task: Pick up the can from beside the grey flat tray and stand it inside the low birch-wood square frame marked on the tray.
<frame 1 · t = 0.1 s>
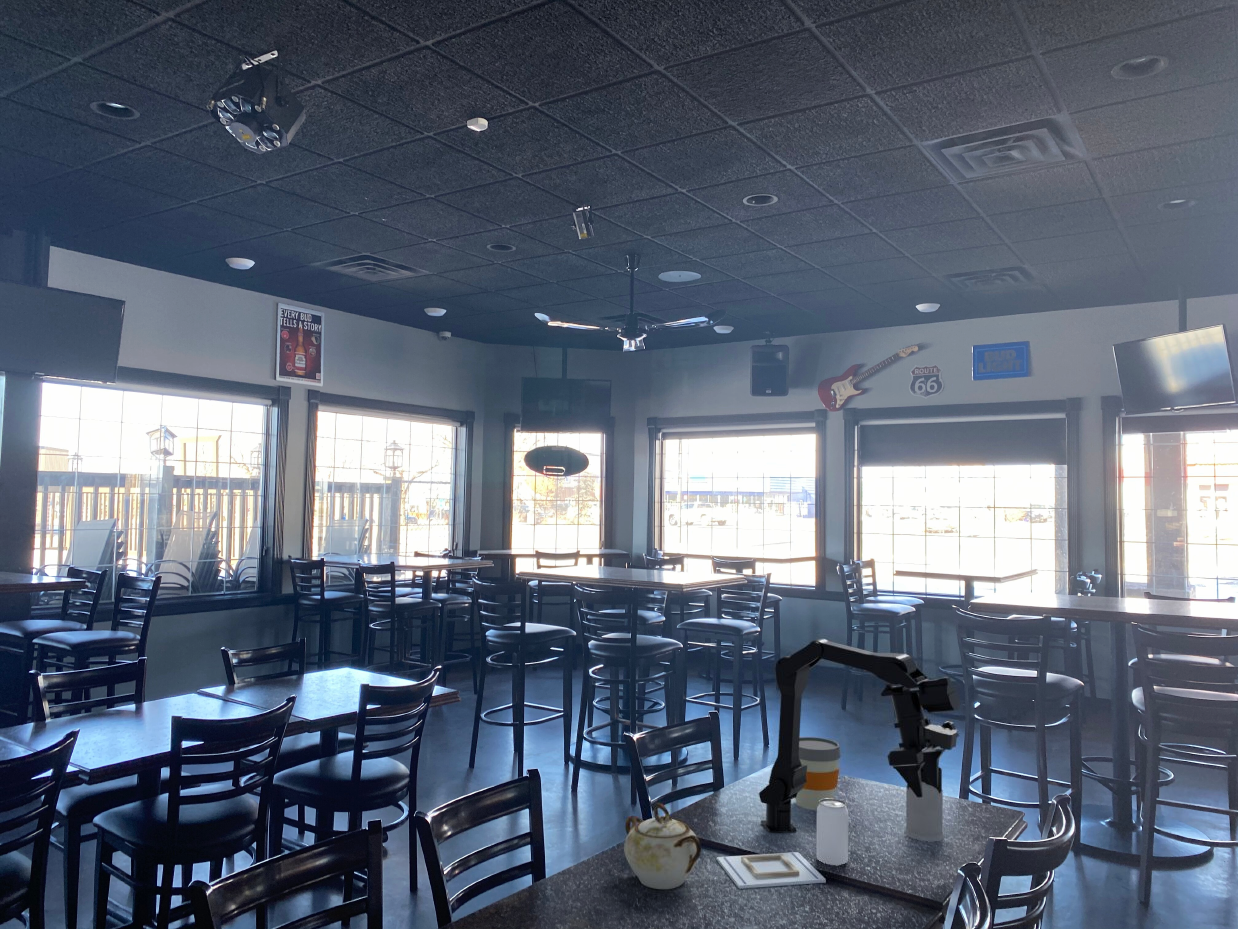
hand: (927, 791, 187), 15 cm above the table, tool pointing down, fingers open, 9 cm apart
sugar bowl: (661, 882, 177), on the table
grey flat tray: (769, 871, 183), on the table
can: (832, 861, 189), on the table
glass holder: (924, 831, 207), on the table
seat frame: (769, 866, 183), on the grey flat tray, point 1 cm above the table
reusable coffee cup: (814, 805, 224), on the table
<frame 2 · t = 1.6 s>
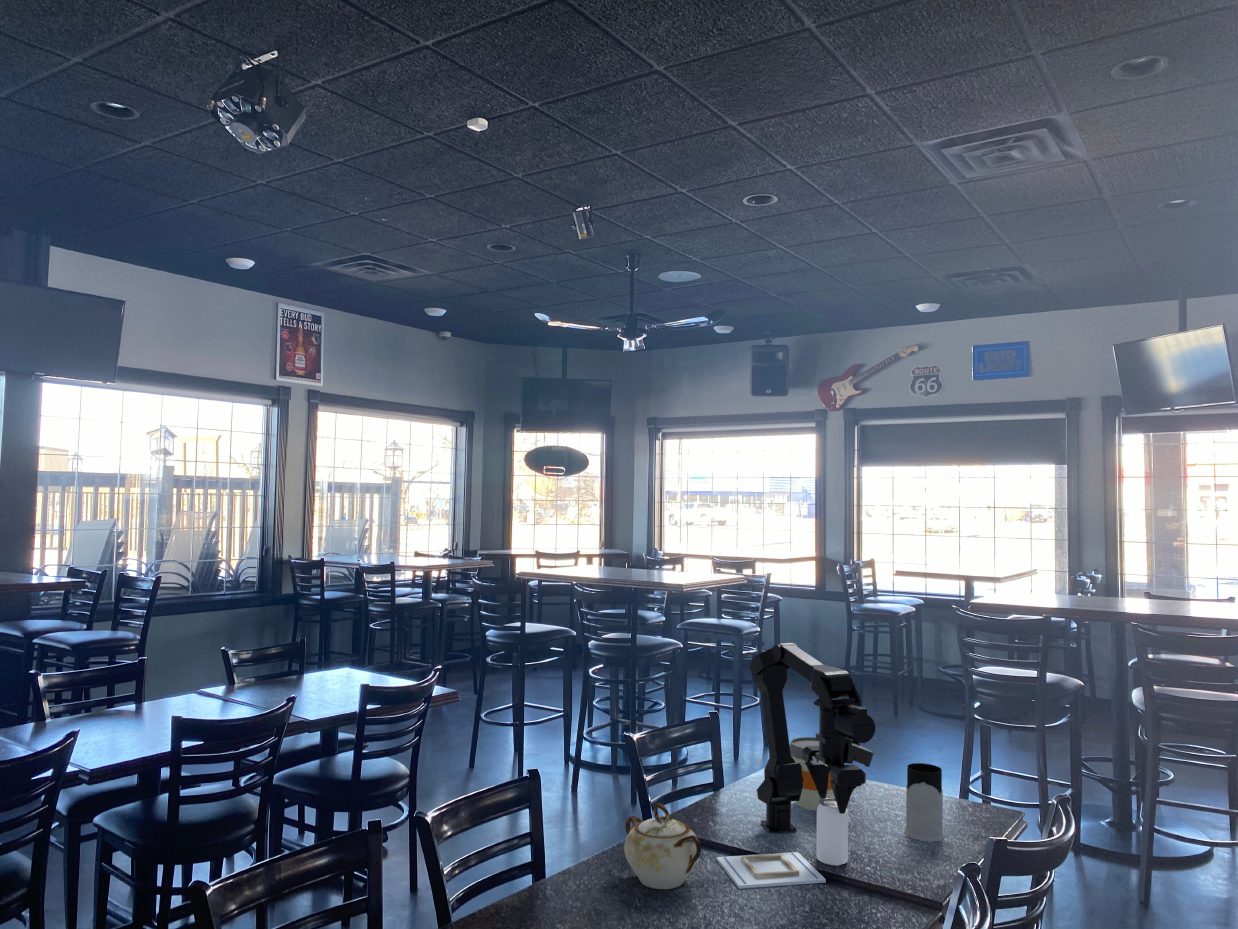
hand: (832, 805, 189), 11 cm above the table, tool pointing down, fingers open, 9 cm apart
nothing on the table moved.
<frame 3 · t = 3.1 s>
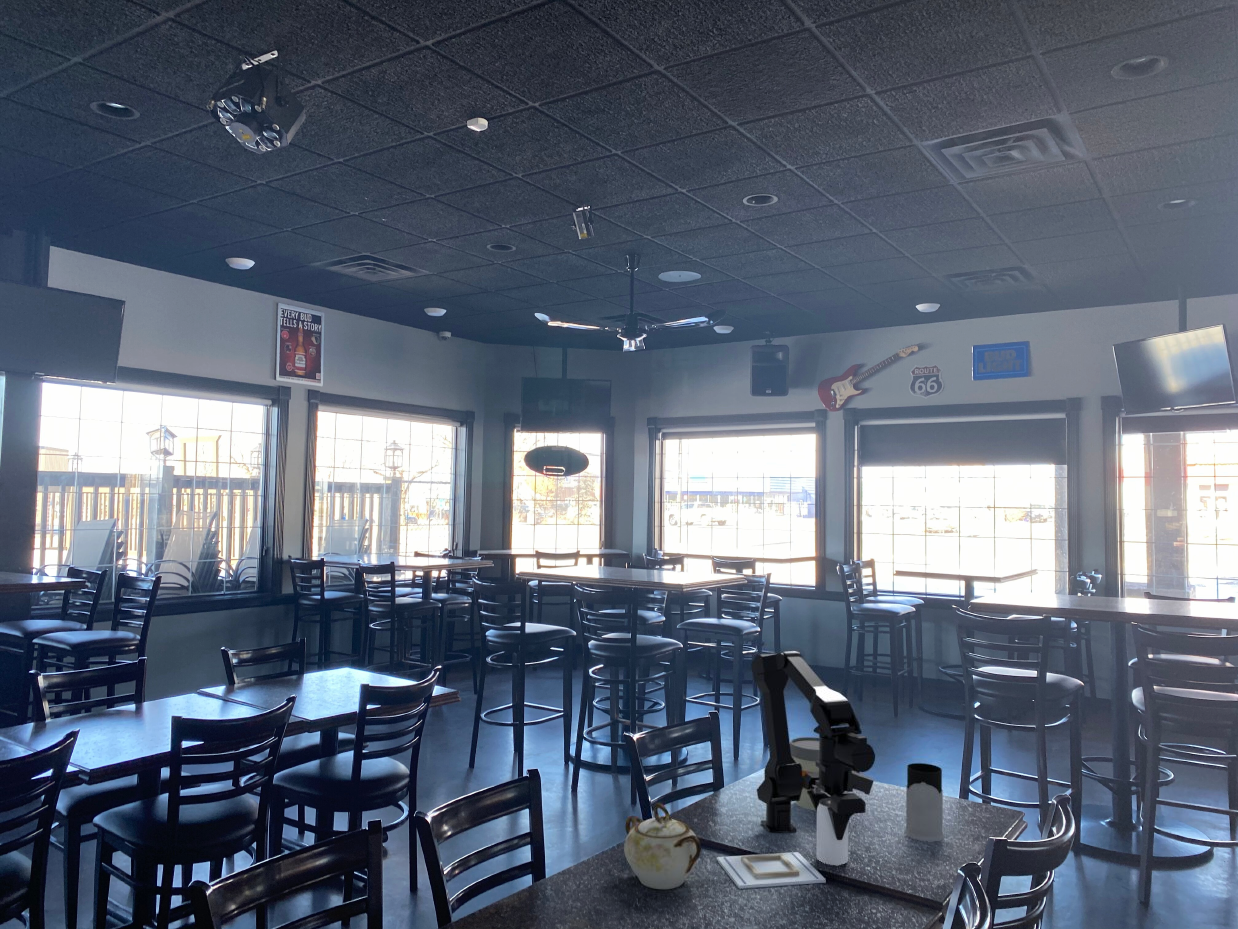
hand: (832, 833, 189), 6 cm above the table, tool pointing down, fingers closed on can, 6 cm apart
can: (832, 861, 189), on the table, touching gripper
everything else where it was.
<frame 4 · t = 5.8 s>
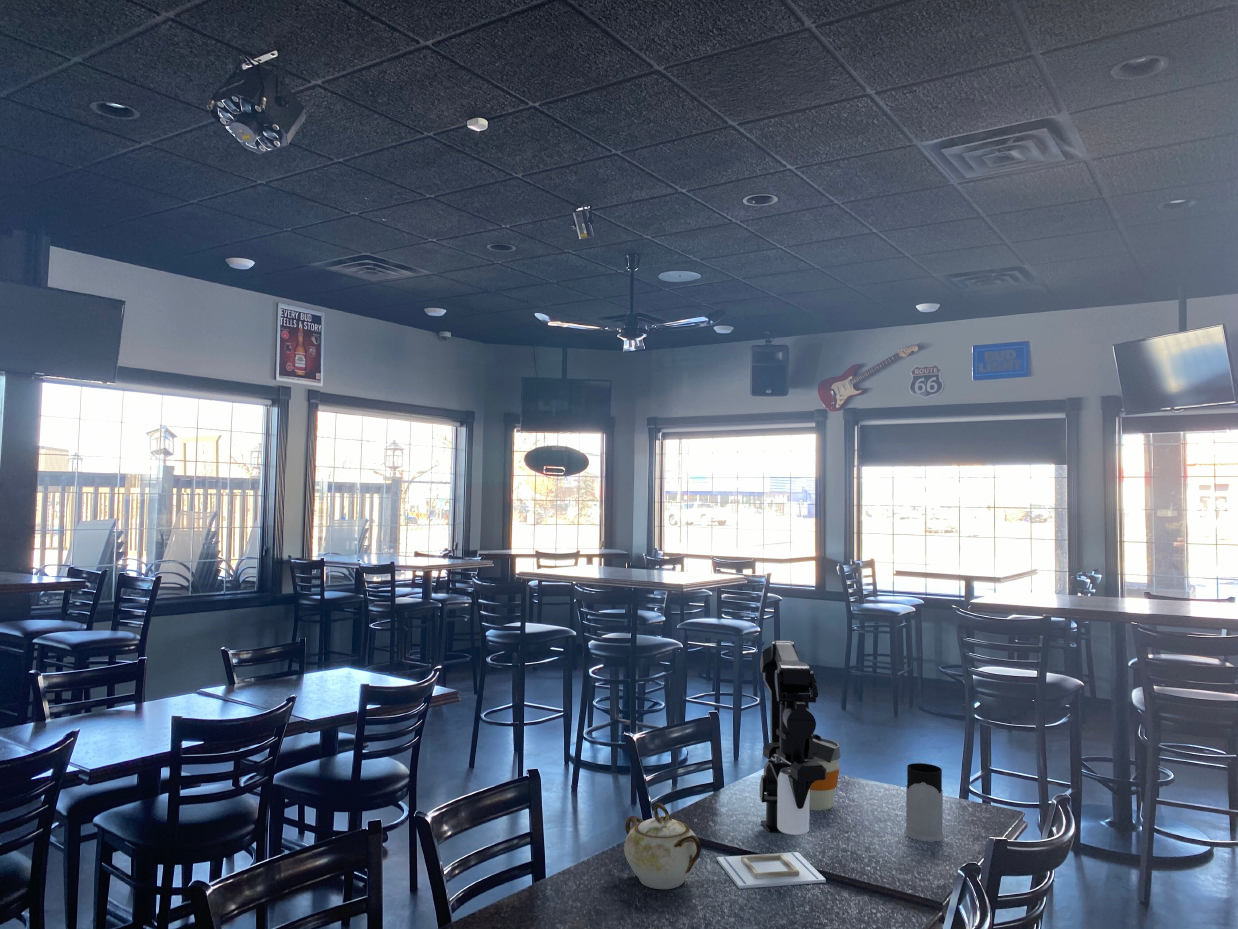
hand: (793, 803, 185), 13 cm above the table, tool pointing down, fingers closed on can, 6 cm apart
can: (793, 831, 185), point 7 cm above the table, touching gripper
everything else where it was.
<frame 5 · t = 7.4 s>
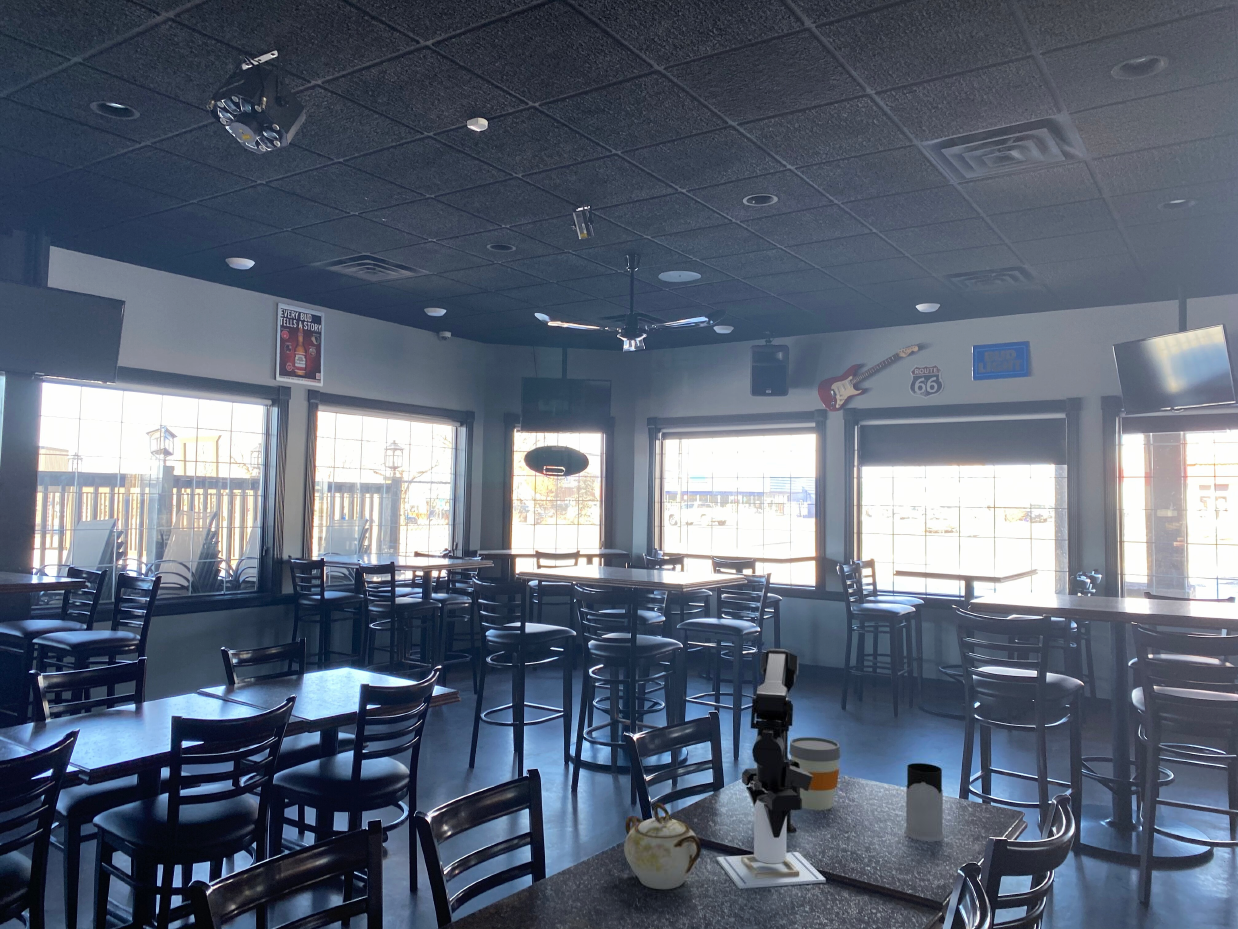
hand: (770, 831, 183), 8 cm above the table, tool pointing down, fingers closed on can, 6 cm apart
can: (770, 859, 183), point 2 cm above the table, touching gripper
everything else where it was.
when the fingers open (7 cm above the table, at t = 8.7 s): can drops 1 cm, resting on grey flat tray.
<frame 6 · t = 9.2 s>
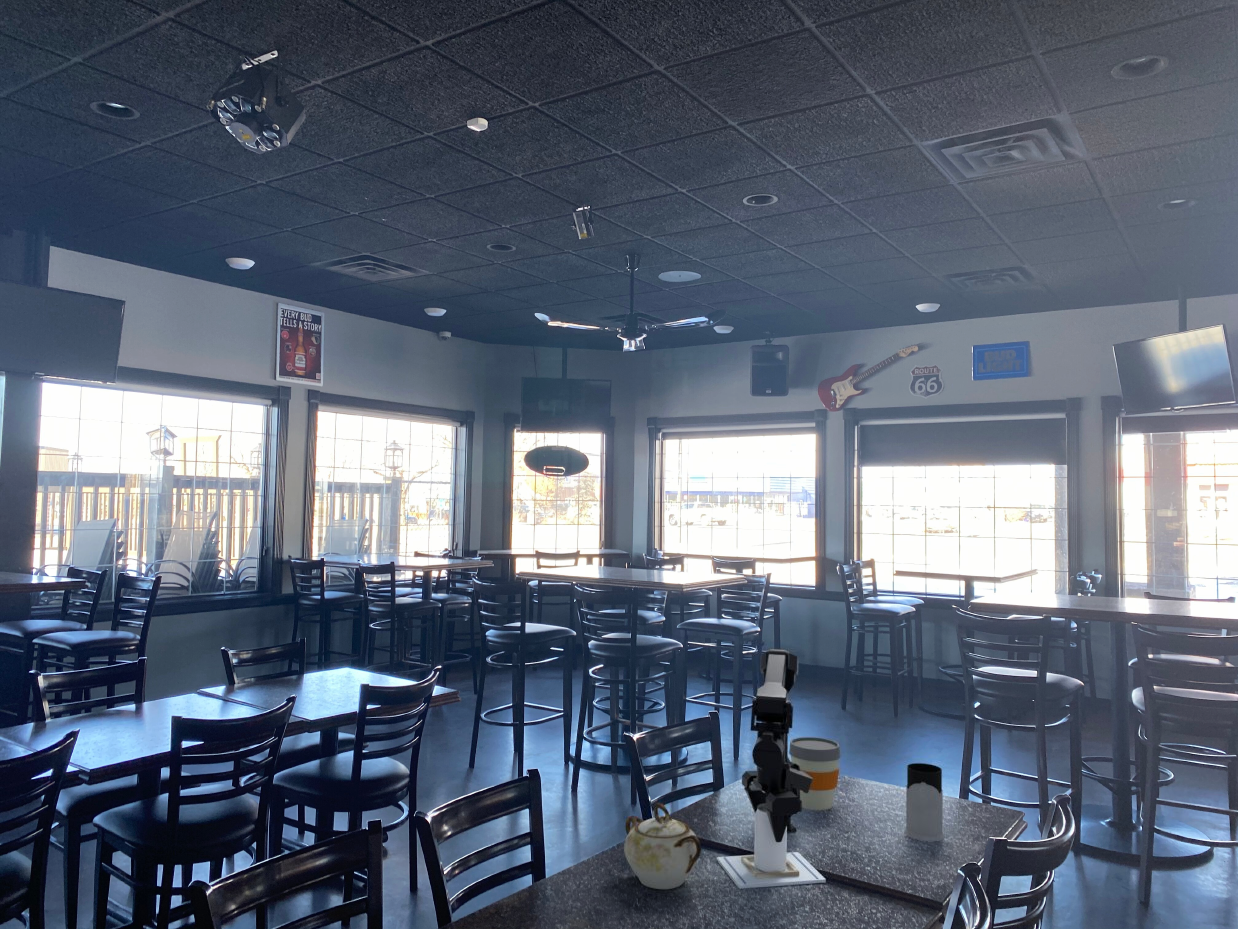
hand: (770, 833, 183), 7 cm above the table, tool pointing down, fingers open, 9 cm apart
can: (770, 868, 183), resting on grey flat tray
everything else where it was.
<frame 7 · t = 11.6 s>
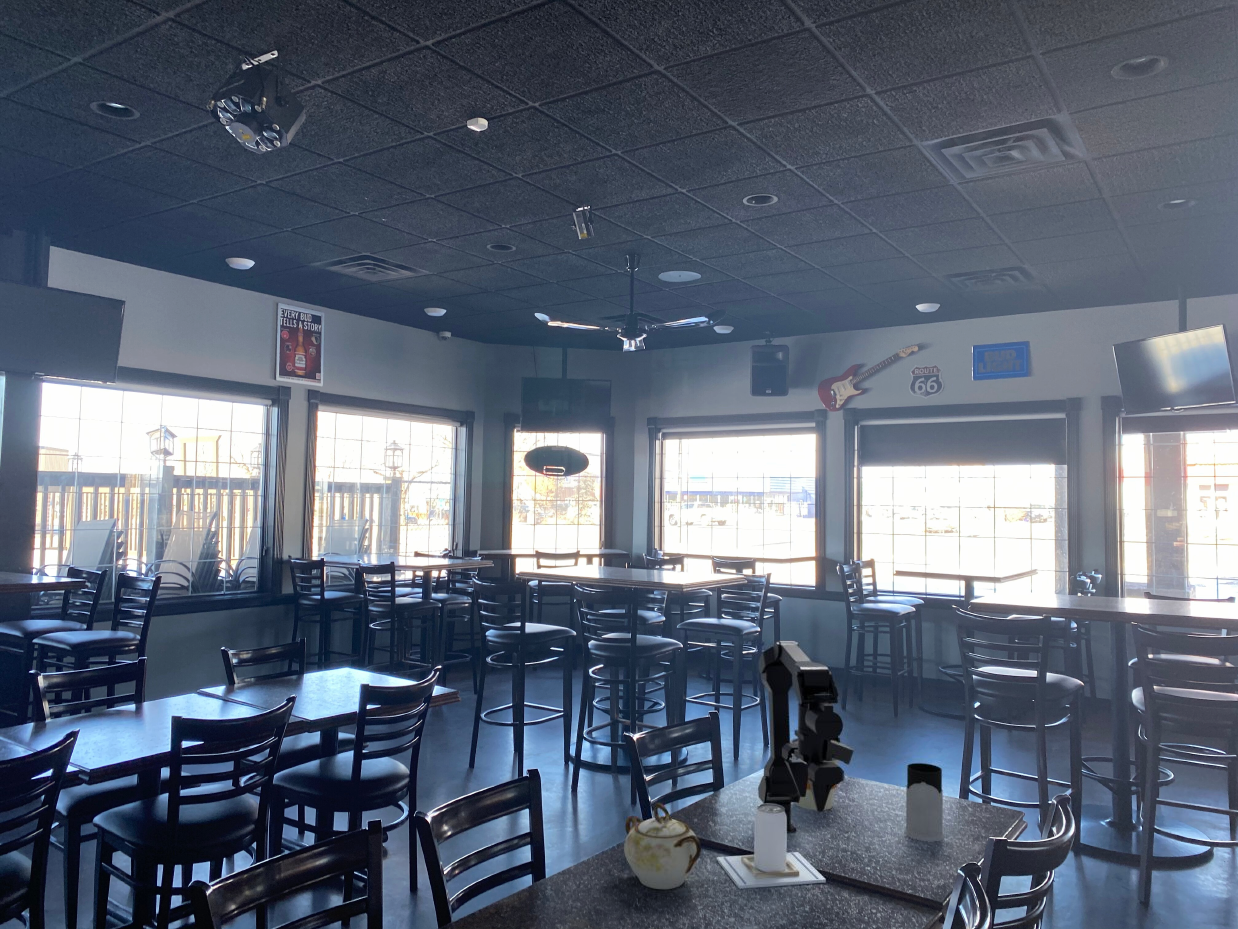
hand: (811, 804, 185), 13 cm above the table, tool pointing down, fingers open, 9 cm apart
nothing on the table moved.
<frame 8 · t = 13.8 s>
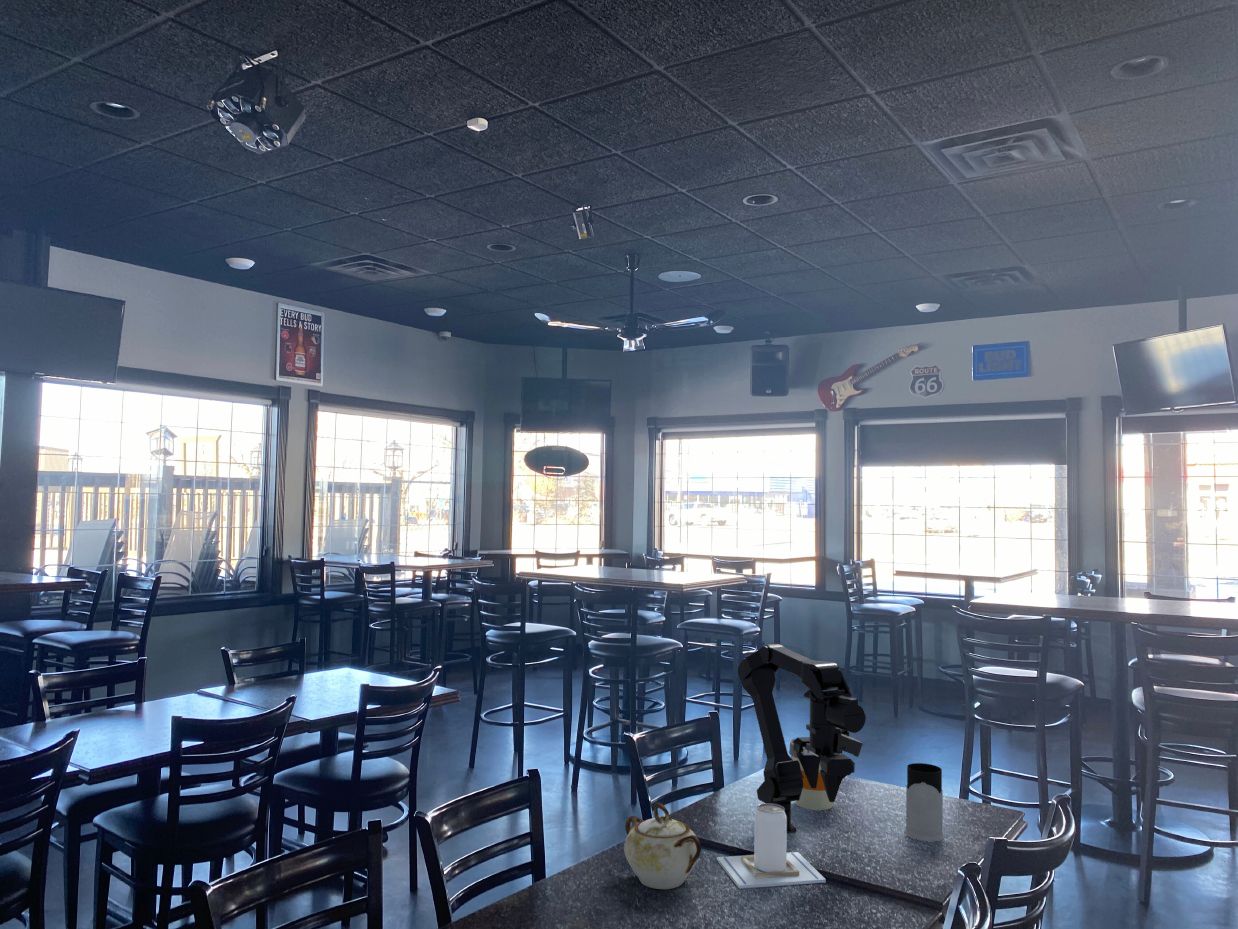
hand: (822, 795, 194), 12 cm above the table, tool pointing down, fingers open, 9 cm apart
nothing on the table moved.
at the end: can 0.1 cm off-centre on the seat frame, point 0.4 cm above the seat frame's base; can tilted 0°; the gripper is holding nothing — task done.
